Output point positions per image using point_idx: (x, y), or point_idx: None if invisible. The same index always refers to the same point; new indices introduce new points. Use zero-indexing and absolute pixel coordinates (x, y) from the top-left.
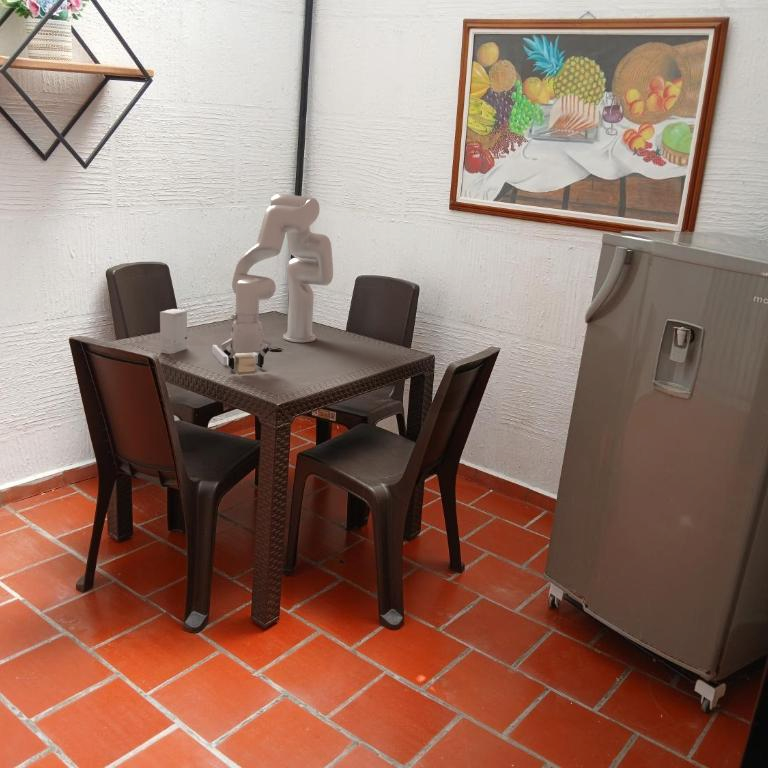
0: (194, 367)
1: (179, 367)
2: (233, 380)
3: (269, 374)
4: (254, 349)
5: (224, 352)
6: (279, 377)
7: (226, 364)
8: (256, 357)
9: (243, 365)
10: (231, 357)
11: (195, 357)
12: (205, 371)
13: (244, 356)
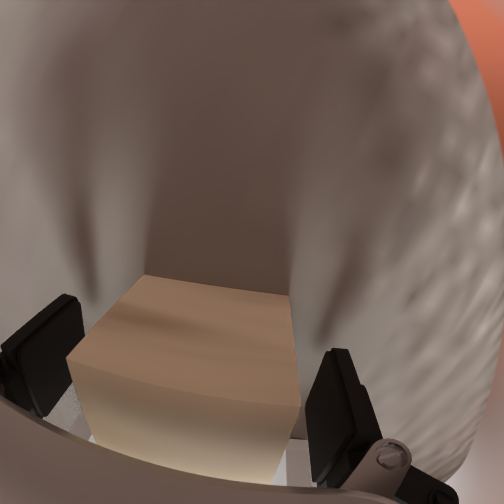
0: (422, 453)
1: (460, 451)
2: (408, 171)
3: (55, 208)
4: (3, 442)
5: (454, 491)
6: (28, 120)
7: (289, 454)
8: (78, 434)
9: (241, 340)
10: (377, 448)
11: None
12: (432, 407)
13: (183, 449)
